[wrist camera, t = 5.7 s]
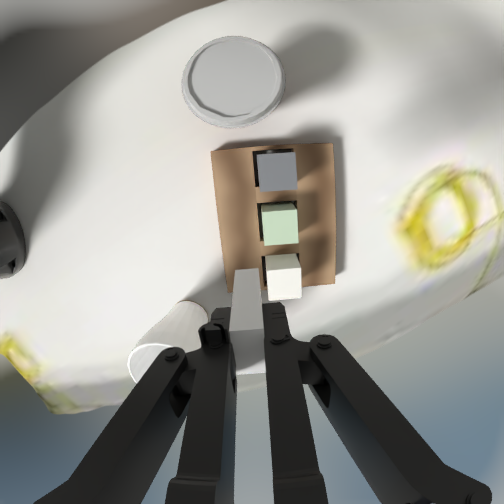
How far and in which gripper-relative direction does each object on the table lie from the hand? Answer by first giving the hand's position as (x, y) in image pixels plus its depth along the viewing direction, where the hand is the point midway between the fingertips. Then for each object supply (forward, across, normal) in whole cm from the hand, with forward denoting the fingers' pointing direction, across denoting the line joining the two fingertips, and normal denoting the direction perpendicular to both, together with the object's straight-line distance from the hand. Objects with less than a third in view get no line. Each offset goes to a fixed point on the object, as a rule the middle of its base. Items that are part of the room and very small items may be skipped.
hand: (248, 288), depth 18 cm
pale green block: (+20, +4, 0) cm, 20 cm away
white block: (+18, +4, -7) cm, 20 cm away
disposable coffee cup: (+20, 0, +16) cm, 26 cm away
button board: (+20, +4, 0) cm, 20 cm away
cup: (+21, -11, -15) cm, 27 cm away
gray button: (+18, +4, +6) cm, 20 cm away
